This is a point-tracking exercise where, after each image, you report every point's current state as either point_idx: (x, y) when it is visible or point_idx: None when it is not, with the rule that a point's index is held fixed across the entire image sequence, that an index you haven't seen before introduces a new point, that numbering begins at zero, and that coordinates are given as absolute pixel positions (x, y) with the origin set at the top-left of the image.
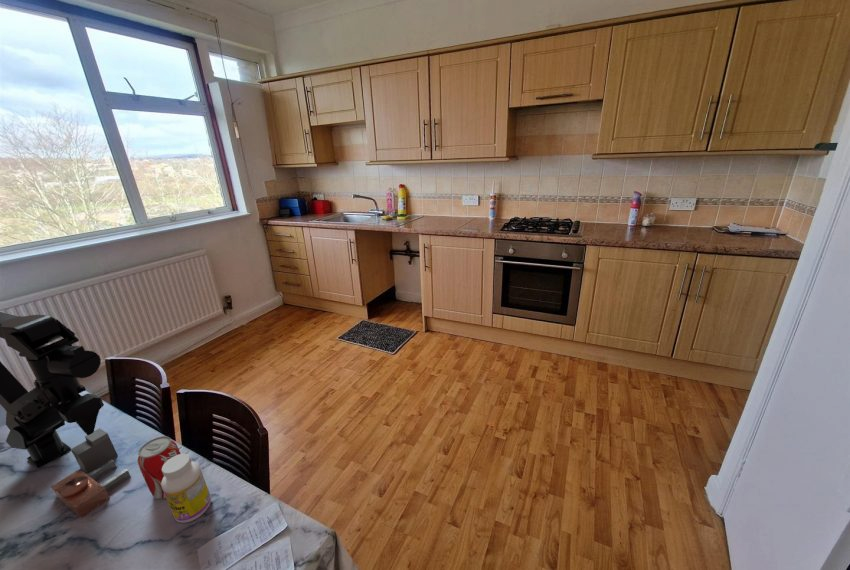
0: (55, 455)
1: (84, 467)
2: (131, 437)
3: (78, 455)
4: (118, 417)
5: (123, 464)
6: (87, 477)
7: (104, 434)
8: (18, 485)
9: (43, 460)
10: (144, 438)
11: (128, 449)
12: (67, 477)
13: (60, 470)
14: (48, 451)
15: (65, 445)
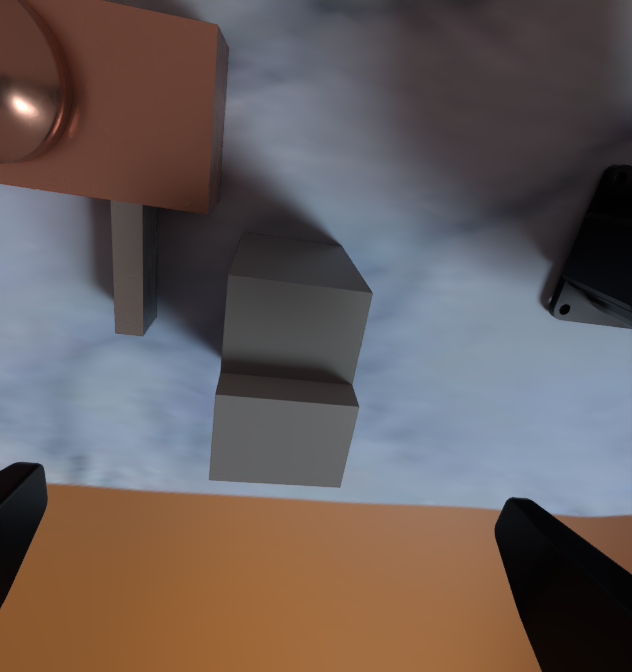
0: (576, 254)
1: (249, 243)
2: None
3: (230, 272)
4: None
5: (118, 335)
6: (43, 178)
7: (211, 466)
8: (594, 32)
9: (619, 208)
10: None
11: None
12: (199, 131)
13: (445, 197)
14: (619, 248)
15: (603, 320)
